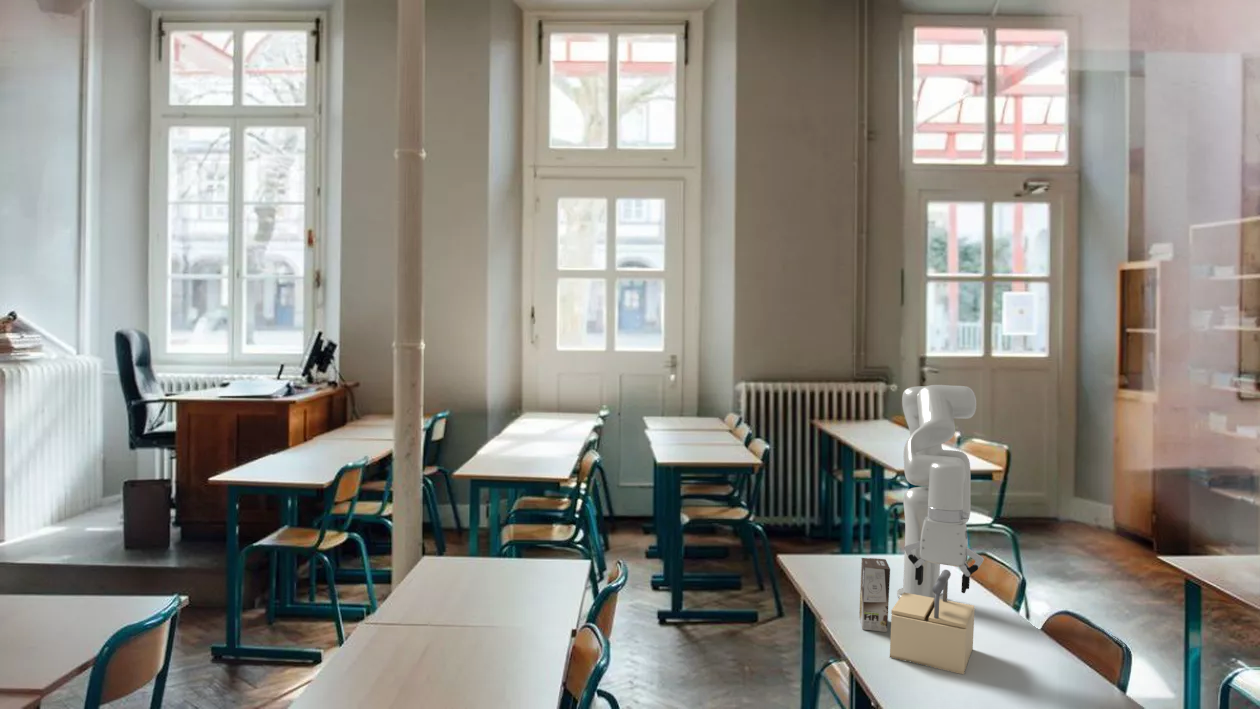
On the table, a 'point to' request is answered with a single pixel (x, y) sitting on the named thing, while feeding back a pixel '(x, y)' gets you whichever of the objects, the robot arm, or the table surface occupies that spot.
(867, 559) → the coffee box
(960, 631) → the carton
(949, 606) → the flap
